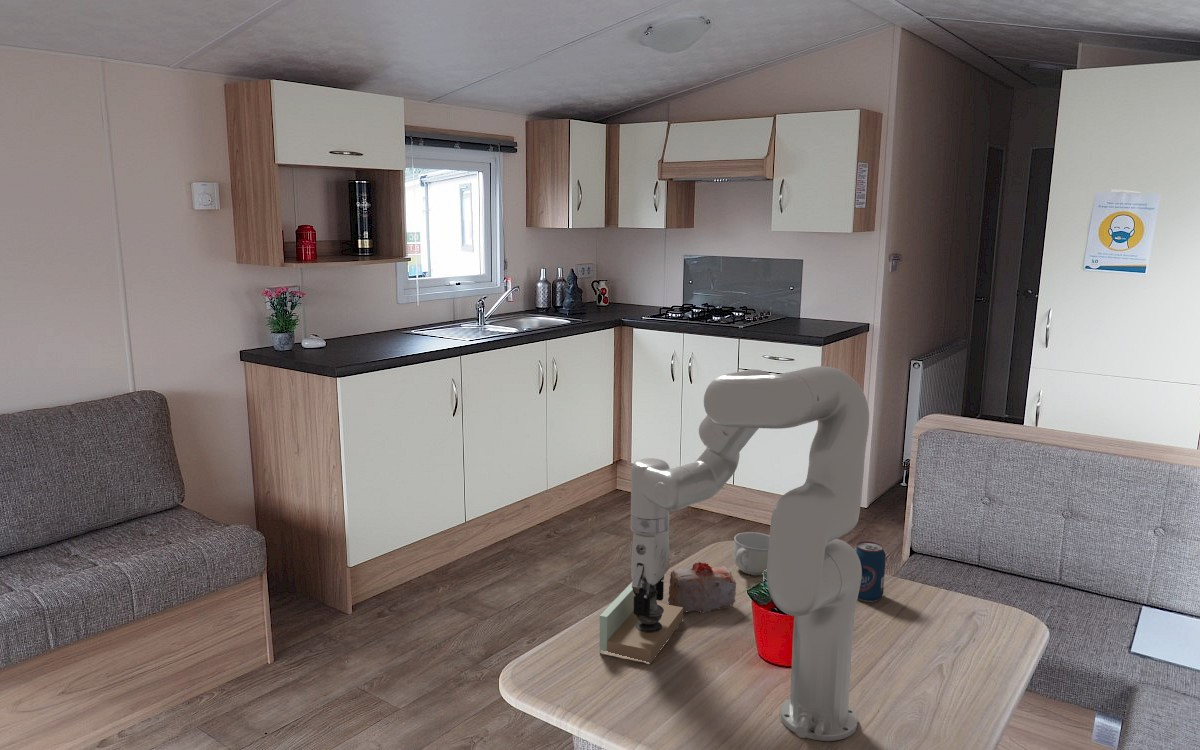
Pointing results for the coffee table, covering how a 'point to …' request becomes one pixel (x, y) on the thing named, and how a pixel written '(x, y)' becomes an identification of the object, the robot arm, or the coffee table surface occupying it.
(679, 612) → the cleat board
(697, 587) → the food item
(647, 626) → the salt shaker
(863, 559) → the soda can
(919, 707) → the coffee table surface
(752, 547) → the teacup
